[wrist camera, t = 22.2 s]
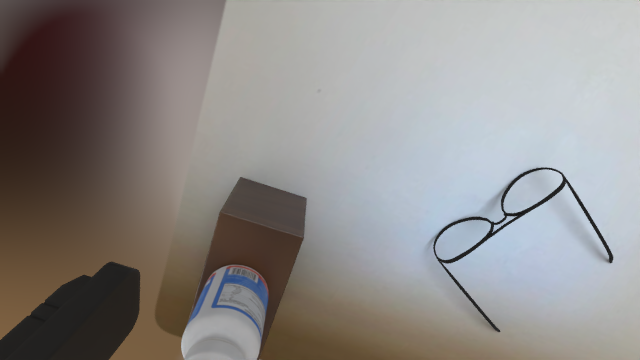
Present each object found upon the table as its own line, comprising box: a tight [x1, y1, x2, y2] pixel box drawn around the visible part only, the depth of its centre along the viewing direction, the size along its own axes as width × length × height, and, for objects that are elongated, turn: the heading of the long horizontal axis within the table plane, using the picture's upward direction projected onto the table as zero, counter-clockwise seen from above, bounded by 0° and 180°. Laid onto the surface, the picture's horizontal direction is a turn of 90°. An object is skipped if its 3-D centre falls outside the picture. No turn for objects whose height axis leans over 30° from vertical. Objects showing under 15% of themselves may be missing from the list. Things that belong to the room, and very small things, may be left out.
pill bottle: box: [181, 265, 269, 360], centre depth 30 cm, size 6×5×10 cm
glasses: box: [433, 168, 613, 332], centre depth 42 cm, size 14×15×5 cm
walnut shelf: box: [188, 177, 306, 360], centre depth 39 cm, size 13×7×9 cm, turn 161°
